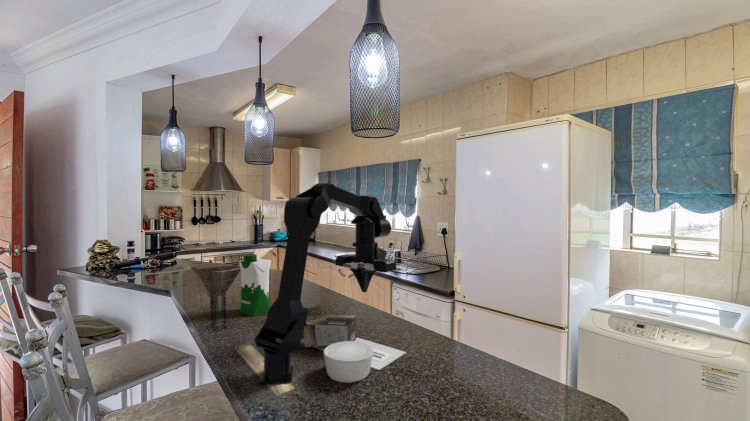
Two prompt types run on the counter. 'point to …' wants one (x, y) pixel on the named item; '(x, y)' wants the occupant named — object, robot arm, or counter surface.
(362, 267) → the robot arm
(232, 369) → the counter surface
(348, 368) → the ramekin
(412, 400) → the counter surface
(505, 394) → the counter surface
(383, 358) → the panel
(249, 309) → the milk carton
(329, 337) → the coffee box
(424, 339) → the counter surface
